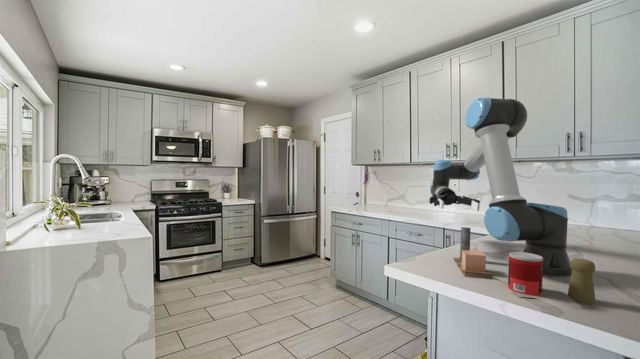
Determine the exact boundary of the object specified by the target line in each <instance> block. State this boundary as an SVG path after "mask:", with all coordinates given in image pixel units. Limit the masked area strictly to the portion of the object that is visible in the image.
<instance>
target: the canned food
mask: <svg viewBox="0 0 640 359" xmlns="http://www.w3.org/2000/svg"><path fill="white" fill-rule="evenodd" d="M508 254H509V255H508V272H507V274H508V277H507V278H508V279H507V280H508V281H507V288H508V289H509V290H510V291H513V292H515V293H518V294H520V295H527V297H526V296H518V297H519V298H521V299H525V300H526V299H527V300H539V299H540V298H535V297H528V296H541V295H542V294H543V280H544V279H543V278H544V276H543V275H544V274H543V257H541V256H539V255H536V254H531V253H525V252H523V251H511V252H509V253H508Z"/></svg>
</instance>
